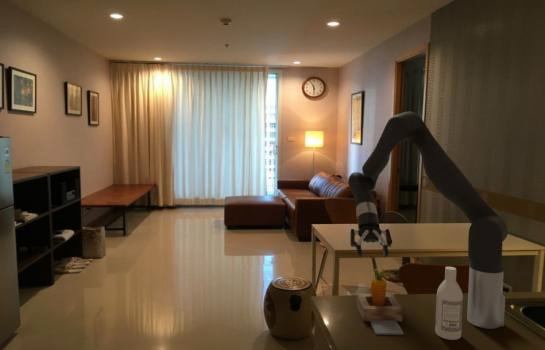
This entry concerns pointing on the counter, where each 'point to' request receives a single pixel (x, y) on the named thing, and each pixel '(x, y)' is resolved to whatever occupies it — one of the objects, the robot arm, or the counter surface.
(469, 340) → the counter surface
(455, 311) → the bath foam
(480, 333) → the counter surface
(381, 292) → the carrot
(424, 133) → the robot arm
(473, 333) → the counter surface
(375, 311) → the holder
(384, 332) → the plate
